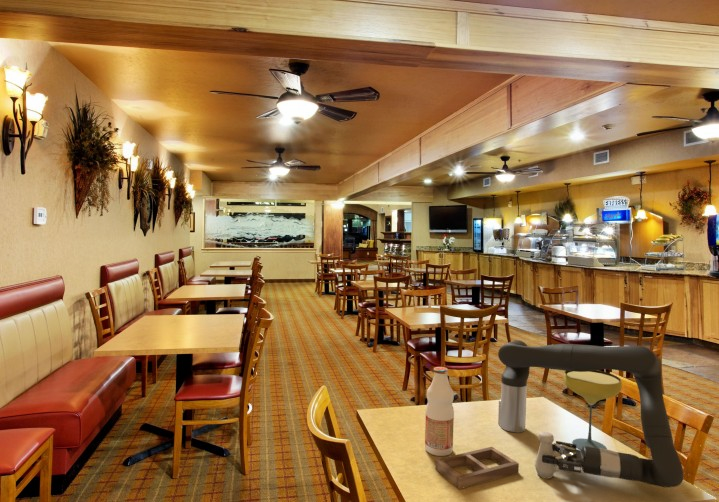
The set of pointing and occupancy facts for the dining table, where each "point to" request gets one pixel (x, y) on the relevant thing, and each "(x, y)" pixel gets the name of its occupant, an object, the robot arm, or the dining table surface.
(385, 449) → the dining table surface
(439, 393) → the fruit juice
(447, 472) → the caddy
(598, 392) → the cocktail glass
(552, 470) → the salt shaker
